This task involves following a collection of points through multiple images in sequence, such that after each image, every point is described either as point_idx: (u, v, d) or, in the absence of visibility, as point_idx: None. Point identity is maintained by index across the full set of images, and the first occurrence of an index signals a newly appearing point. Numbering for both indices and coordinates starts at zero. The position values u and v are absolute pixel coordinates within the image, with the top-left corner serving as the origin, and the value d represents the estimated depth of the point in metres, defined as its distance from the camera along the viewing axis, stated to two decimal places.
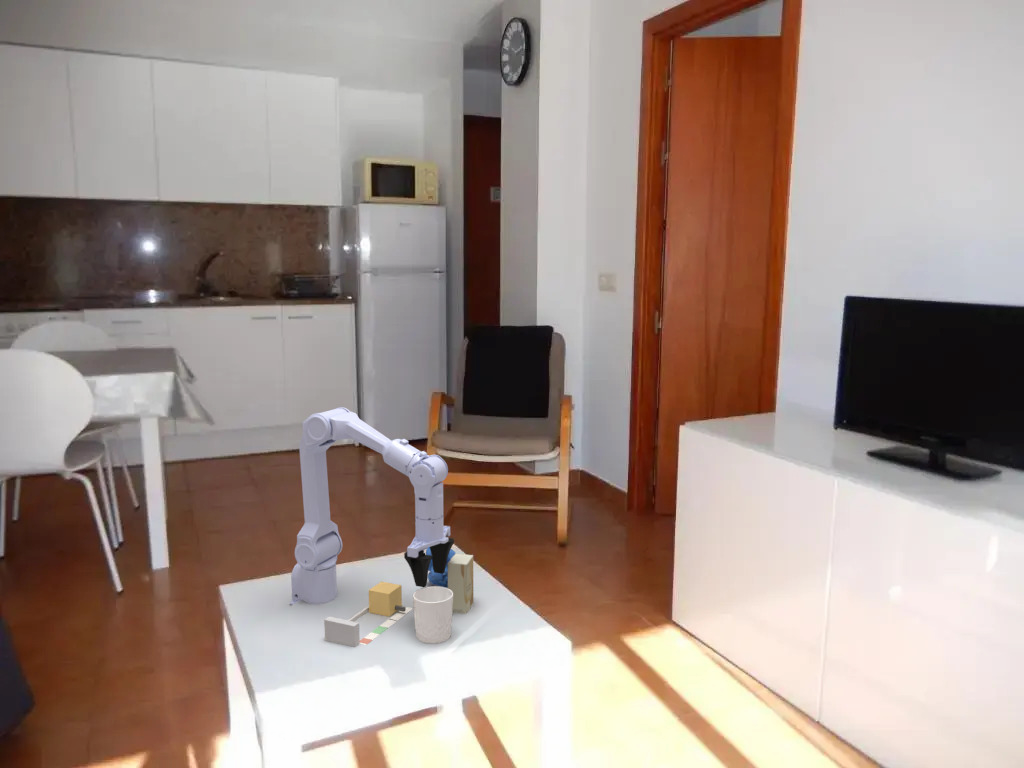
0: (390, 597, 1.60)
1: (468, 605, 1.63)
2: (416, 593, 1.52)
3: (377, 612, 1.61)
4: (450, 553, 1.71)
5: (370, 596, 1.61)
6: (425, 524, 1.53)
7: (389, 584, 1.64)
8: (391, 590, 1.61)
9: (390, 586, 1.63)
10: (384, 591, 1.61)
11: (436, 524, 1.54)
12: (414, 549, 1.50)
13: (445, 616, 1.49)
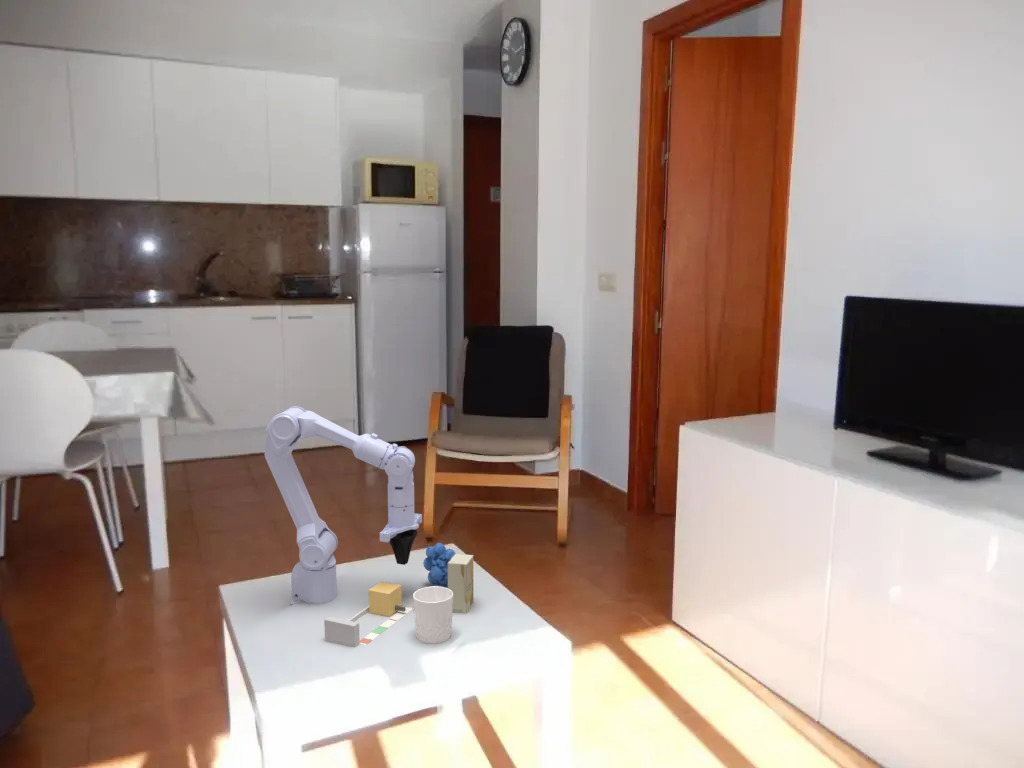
0: (390, 597, 1.60)
1: (468, 605, 1.63)
2: (416, 593, 1.52)
3: (377, 612, 1.61)
4: (450, 553, 1.71)
5: (370, 596, 1.61)
6: (397, 511, 1.64)
7: (389, 584, 1.64)
8: (391, 590, 1.61)
9: (390, 586, 1.63)
10: (384, 591, 1.61)
11: (407, 511, 1.64)
12: (386, 534, 1.60)
13: (445, 616, 1.49)
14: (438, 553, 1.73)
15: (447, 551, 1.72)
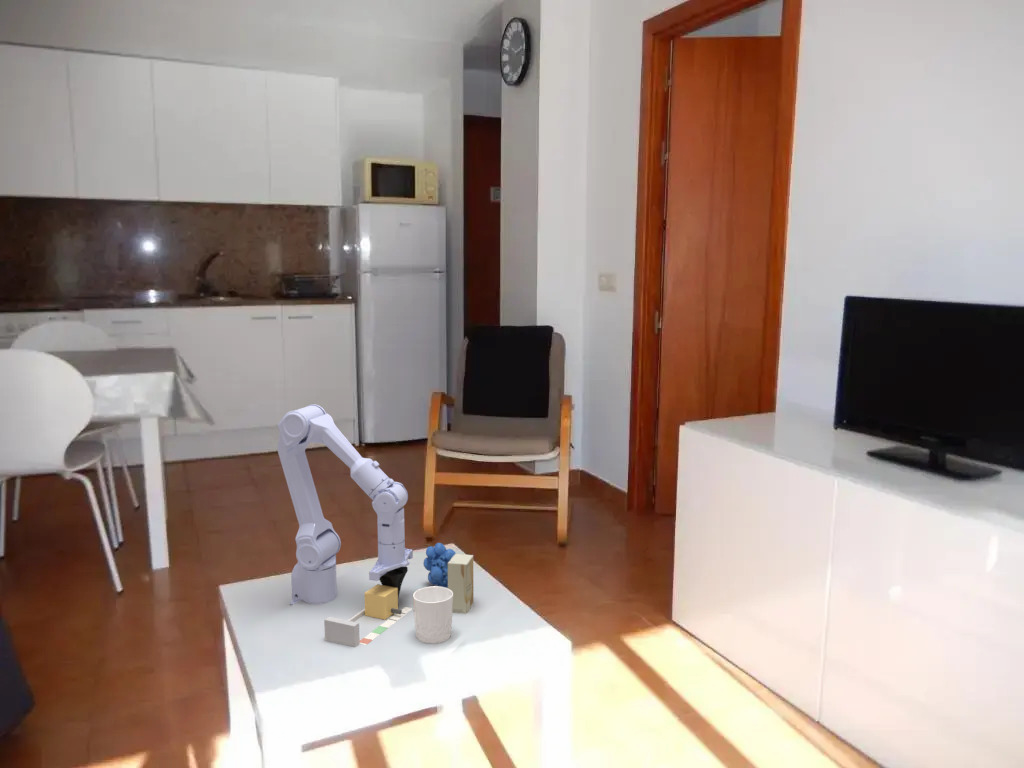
0: (386, 600, 1.59)
1: (468, 605, 1.63)
2: (416, 593, 1.52)
3: (373, 615, 1.60)
4: (450, 553, 1.71)
5: (366, 599, 1.60)
6: (386, 549, 1.61)
7: (385, 586, 1.63)
8: (387, 593, 1.60)
9: (386, 589, 1.62)
10: (380, 594, 1.59)
11: (397, 548, 1.62)
12: (375, 573, 1.57)
13: (445, 616, 1.49)
14: (438, 553, 1.73)
15: (447, 551, 1.72)
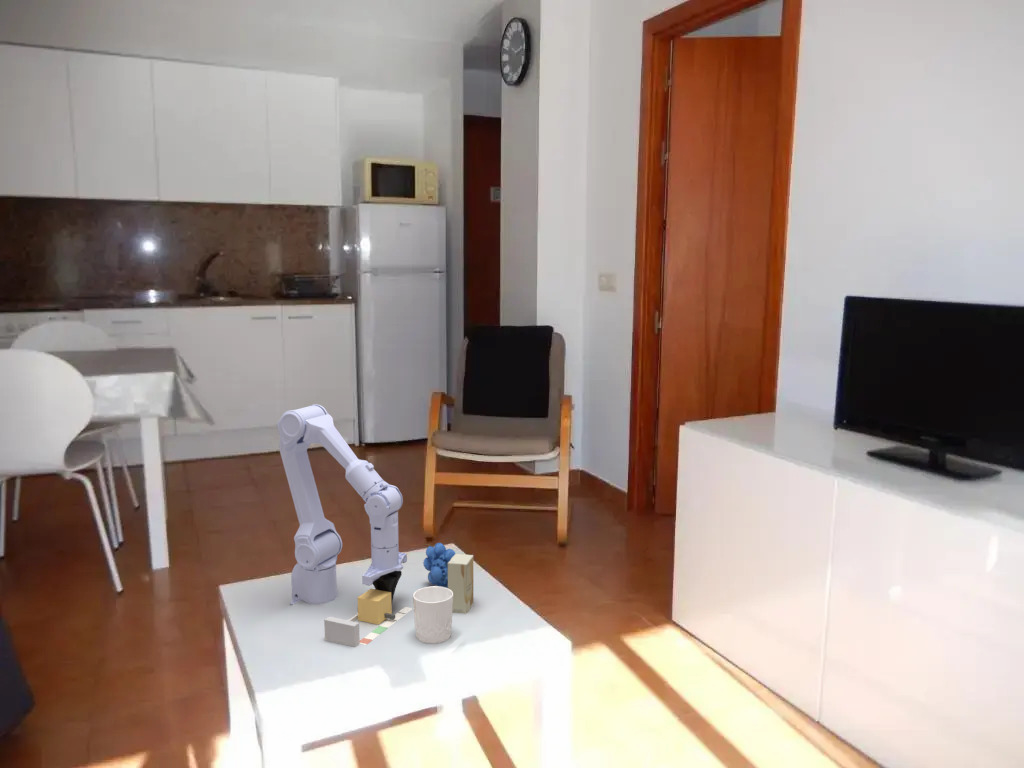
0: (379, 605, 1.56)
1: (468, 605, 1.63)
2: (416, 593, 1.52)
3: (366, 620, 1.57)
4: (450, 553, 1.71)
5: (359, 604, 1.58)
6: (380, 552, 1.59)
7: (379, 591, 1.61)
8: (380, 598, 1.57)
9: (380, 593, 1.59)
10: (373, 598, 1.57)
11: (391, 552, 1.59)
12: (368, 577, 1.55)
13: (445, 616, 1.49)
14: (438, 553, 1.73)
15: (447, 551, 1.72)
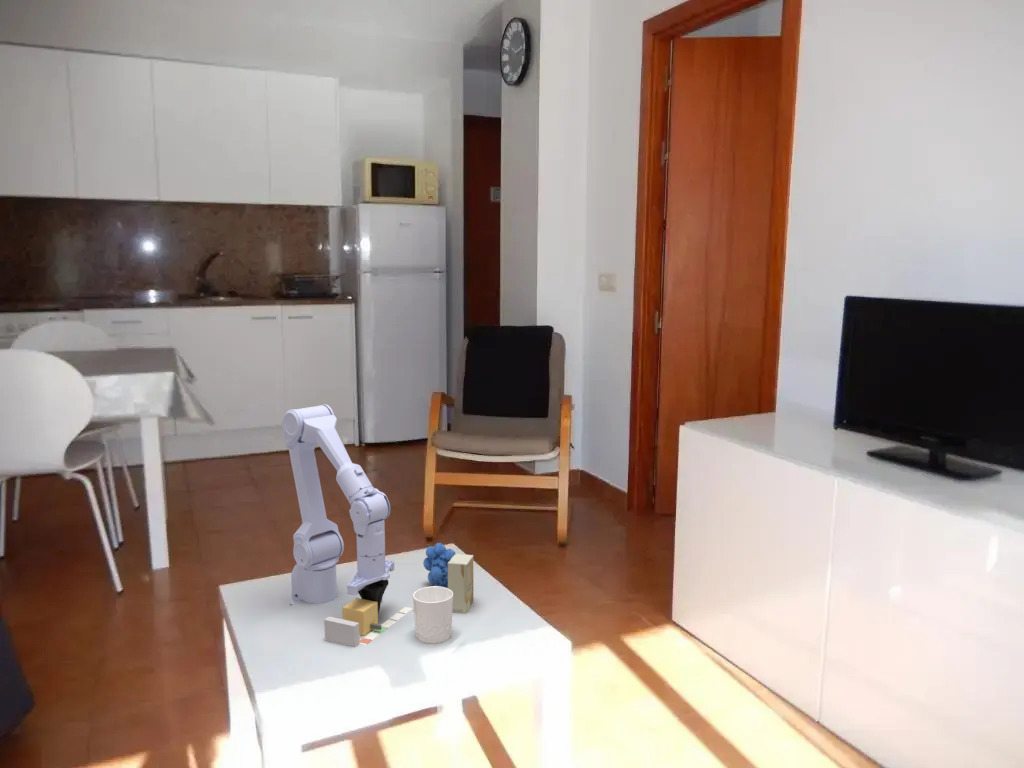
0: (365, 615, 1.52)
1: (468, 605, 1.63)
2: (416, 593, 1.52)
3: None
4: (450, 553, 1.71)
5: (344, 614, 1.53)
6: (366, 561, 1.54)
7: (365, 600, 1.56)
8: (366, 608, 1.52)
9: (365, 603, 1.55)
10: (359, 609, 1.52)
11: (377, 561, 1.55)
12: (353, 587, 1.50)
13: (445, 616, 1.49)
14: (438, 553, 1.73)
15: (447, 551, 1.72)
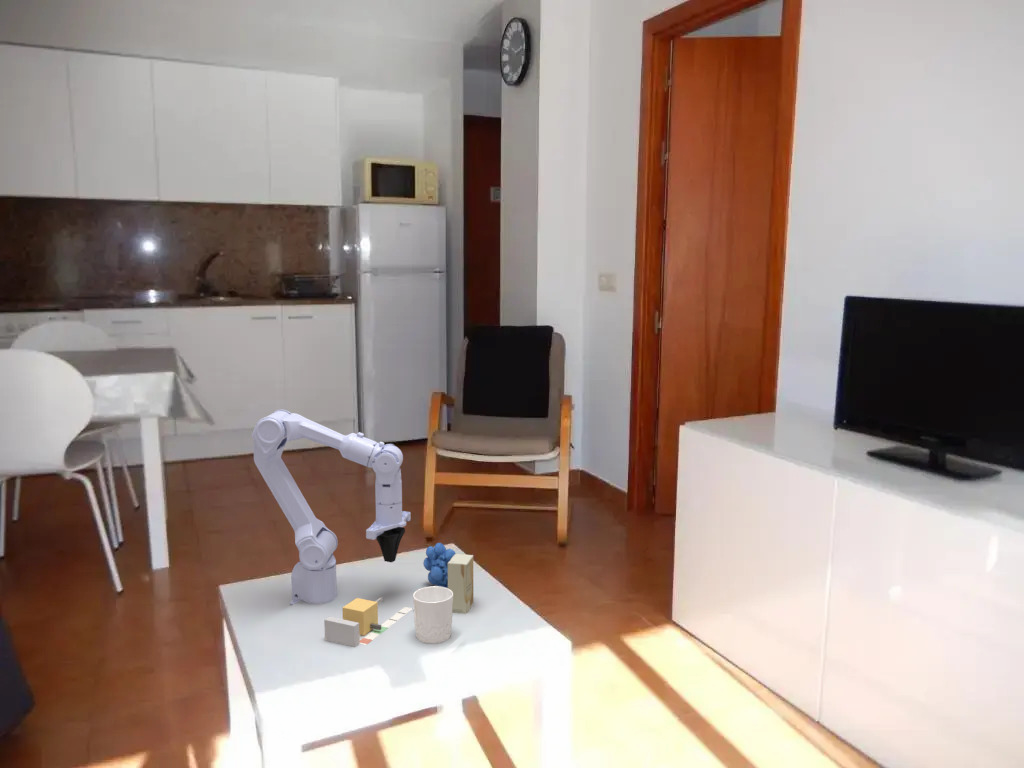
0: (365, 615, 1.52)
1: (468, 605, 1.63)
2: (416, 593, 1.52)
3: None
4: (450, 553, 1.71)
5: (344, 614, 1.53)
6: (384, 509, 1.64)
7: (365, 600, 1.56)
8: (366, 608, 1.52)
9: (365, 603, 1.55)
10: (359, 609, 1.52)
11: (394, 509, 1.64)
12: (372, 532, 1.60)
13: (445, 616, 1.49)
14: (438, 553, 1.73)
15: (447, 551, 1.72)
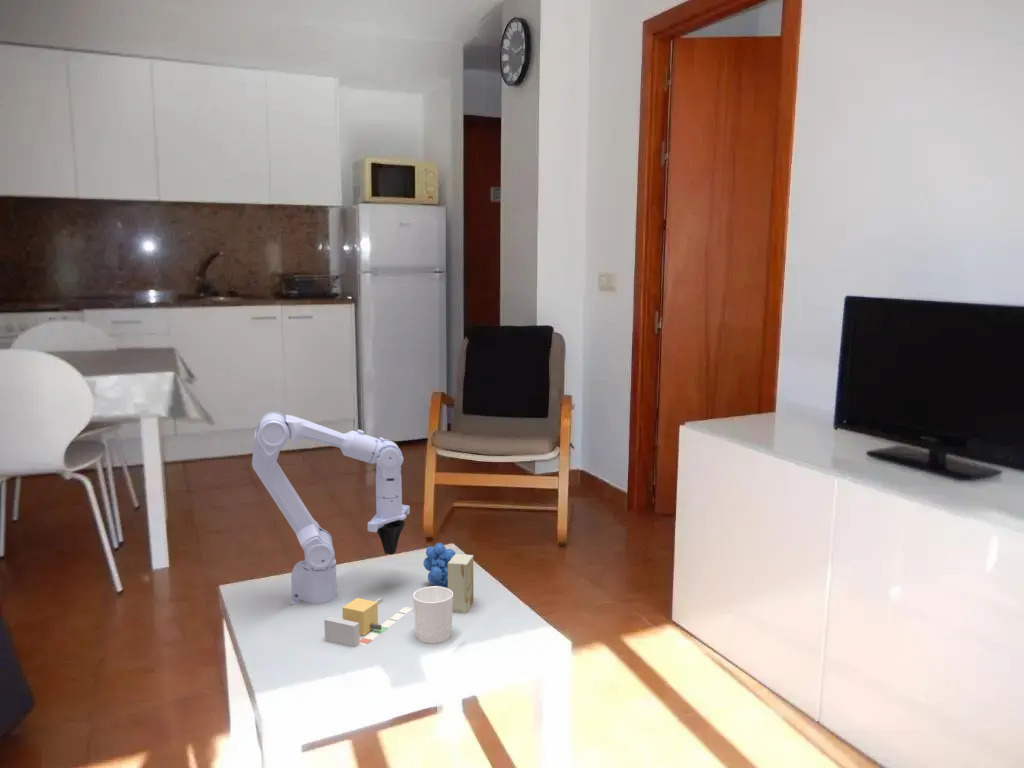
0: (365, 615, 1.52)
1: (468, 605, 1.63)
2: (416, 593, 1.52)
3: None
4: (450, 553, 1.71)
5: (344, 614, 1.53)
6: (384, 502, 1.69)
7: (365, 600, 1.56)
8: (366, 608, 1.52)
9: (365, 603, 1.55)
10: (359, 609, 1.52)
11: (395, 502, 1.69)
12: (373, 524, 1.65)
13: (445, 616, 1.49)
14: (438, 553, 1.73)
15: (447, 551, 1.72)
